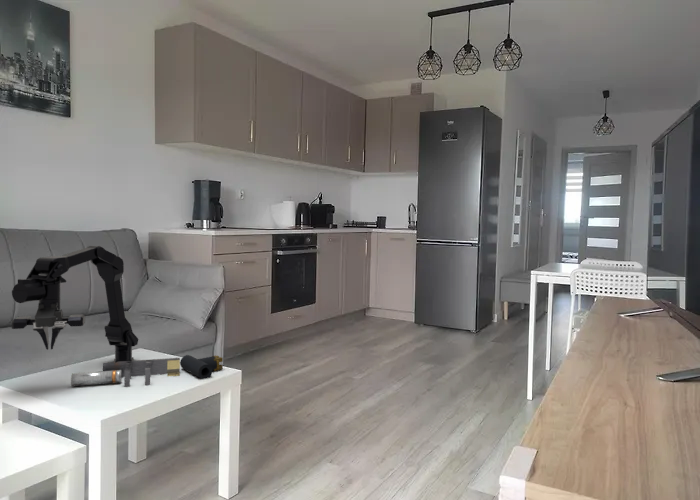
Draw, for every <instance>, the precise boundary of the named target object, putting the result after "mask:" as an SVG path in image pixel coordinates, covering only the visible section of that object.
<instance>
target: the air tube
mask: <svg viewBox="0 0 700 500" xmlns="http://www.w3.org/2000/svg"><path fill="white" fill-rule="evenodd" d="M122 379H123V377H122V371H121V370H114V371H103V370H102V371H86V372H74V373H71V377H70V387H71V388H72V387H84V386H85V387H86V386H97V385H98V386H99V385H107V384H110V385H111V384H121V383H122Z"/></svg>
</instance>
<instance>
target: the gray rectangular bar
mask: <svg viewBox="0 0 700 500" xmlns="http://www.w3.org/2000/svg"><path fill="white" fill-rule="evenodd" d="M150 361H151V376H153V375H165V374H166V375H167V377H177V376H181V373H180V371H181V370H180V368H181V366H180V361H181V358H180V357H167V358H154V359H152V358H151V359H139V360H137V359H136V360H135V359H134V360H133V361H119V362H114V361H107V362H106V361H105V362H102V371H114V370H121V371H122V378H124V371H125V370H126V363H131V377H138V376H139V377H141V376H145V368H146V362H150Z"/></svg>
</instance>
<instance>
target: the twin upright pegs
mask: <svg viewBox="0 0 700 500" xmlns="http://www.w3.org/2000/svg"><path fill="white" fill-rule="evenodd" d="M123 378H124V380H123V381H124V385H123V386H124V387H126V388H128V387H130V385H131V380H132V376H131V363H126V370H125V371H124V377H123ZM151 378H152V375H151V361H150V362H146V368H145V375H144V379H145V380H144V385H145V386H150V385H151Z"/></svg>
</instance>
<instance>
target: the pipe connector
mask: <svg viewBox="0 0 700 500" xmlns="http://www.w3.org/2000/svg"><path fill="white" fill-rule="evenodd" d="M222 362H224V359H223V357H221V356H219V355H212V356H209V357H208V356H206V357H202V358H197V357H194V356H192V355H191V354H186V355H184V356H182V358H180V368H182V369H183V370H185V371H187V372H188V373H190V374H192V375H194V376H196V377H197V378H199V379H201V380H205V379H210V378H211V376H212V374H213V372H216V371H221V370H223V365H222V364H220V363H222Z"/></svg>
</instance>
